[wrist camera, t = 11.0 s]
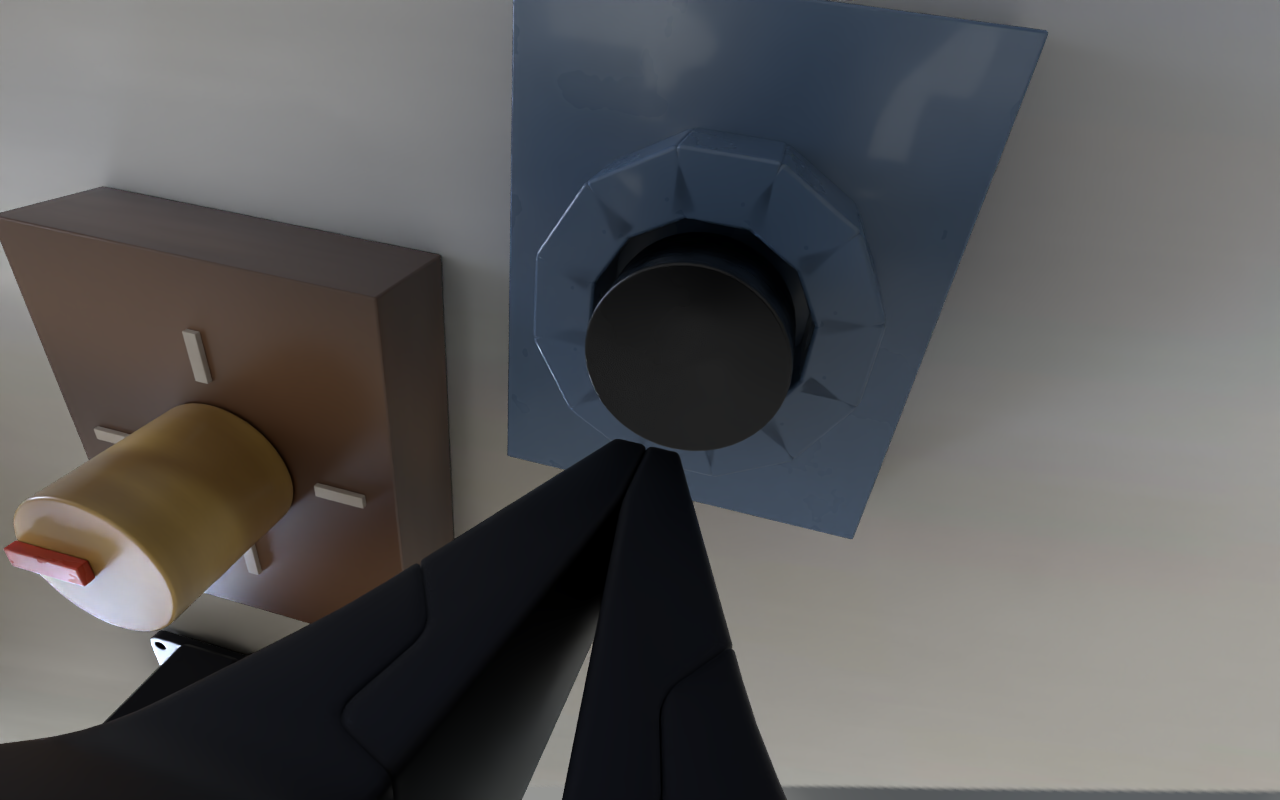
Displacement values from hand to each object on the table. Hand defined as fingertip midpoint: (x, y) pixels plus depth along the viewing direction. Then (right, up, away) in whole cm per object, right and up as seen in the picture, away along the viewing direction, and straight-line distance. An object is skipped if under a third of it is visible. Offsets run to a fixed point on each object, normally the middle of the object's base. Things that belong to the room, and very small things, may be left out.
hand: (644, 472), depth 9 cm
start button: (+1, +2, +4) cm, 5 cm away
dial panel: (-11, +1, +12) cm, 16 cm away
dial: (-11, -1, +10) cm, 15 cm away
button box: (+2, +4, +7) cm, 8 cm away
